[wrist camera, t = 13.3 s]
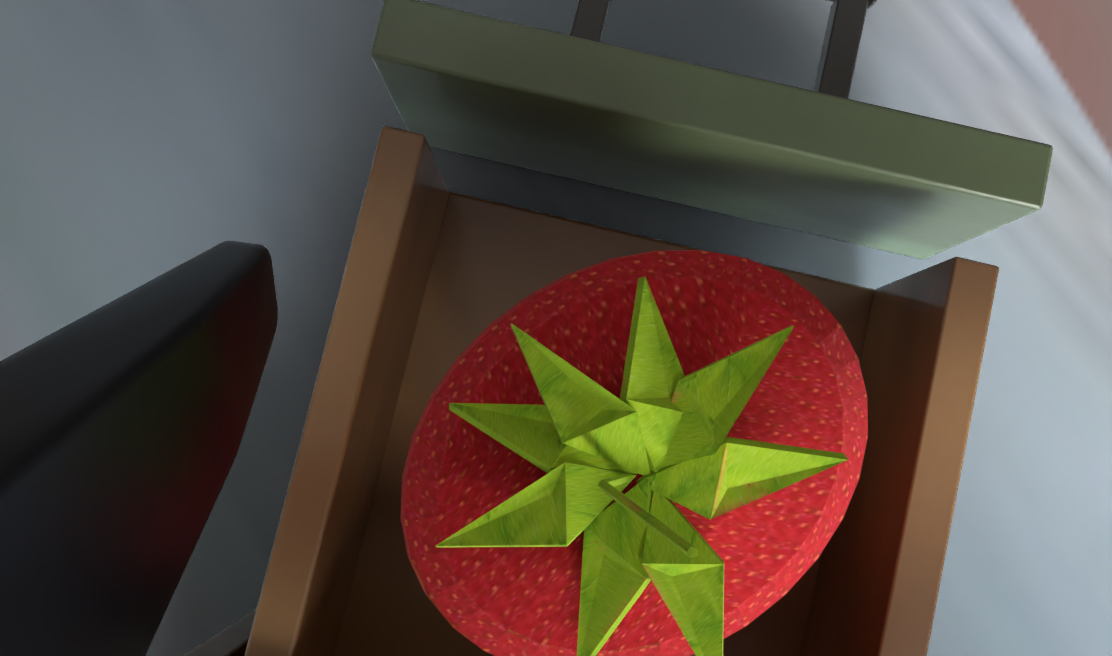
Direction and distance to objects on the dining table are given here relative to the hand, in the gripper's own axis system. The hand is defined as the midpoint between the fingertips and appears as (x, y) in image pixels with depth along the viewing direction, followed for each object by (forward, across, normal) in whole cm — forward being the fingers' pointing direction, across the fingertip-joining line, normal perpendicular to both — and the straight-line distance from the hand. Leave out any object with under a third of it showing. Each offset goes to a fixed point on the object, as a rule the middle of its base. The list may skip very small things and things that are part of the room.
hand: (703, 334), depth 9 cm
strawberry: (+6, 0, +8) cm, 11 cm away
